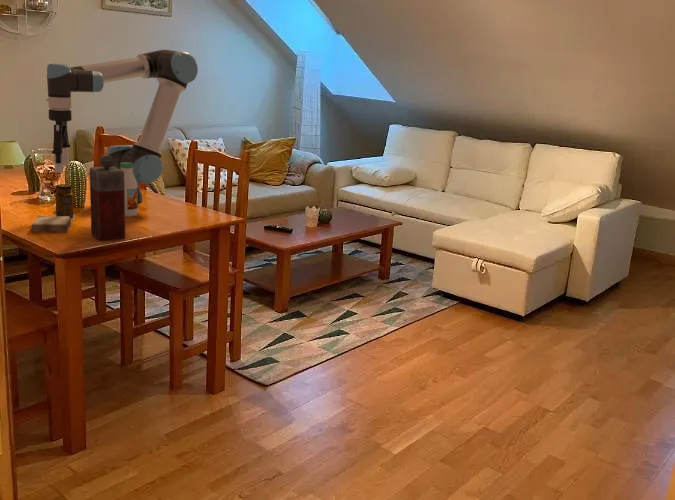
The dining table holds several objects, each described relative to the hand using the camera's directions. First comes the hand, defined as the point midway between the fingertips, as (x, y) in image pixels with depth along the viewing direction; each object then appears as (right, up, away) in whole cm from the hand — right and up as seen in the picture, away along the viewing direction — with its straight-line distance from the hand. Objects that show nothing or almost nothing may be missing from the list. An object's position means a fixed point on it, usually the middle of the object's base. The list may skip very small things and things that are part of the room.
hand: (62, 168), depth 250 cm
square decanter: (+21, -25, -13) cm, 35 cm away
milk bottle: (+19, -16, +16) cm, 29 cm away
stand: (0, -22, -9) cm, 24 cm away
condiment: (-1, -18, +5) cm, 19 cm away
